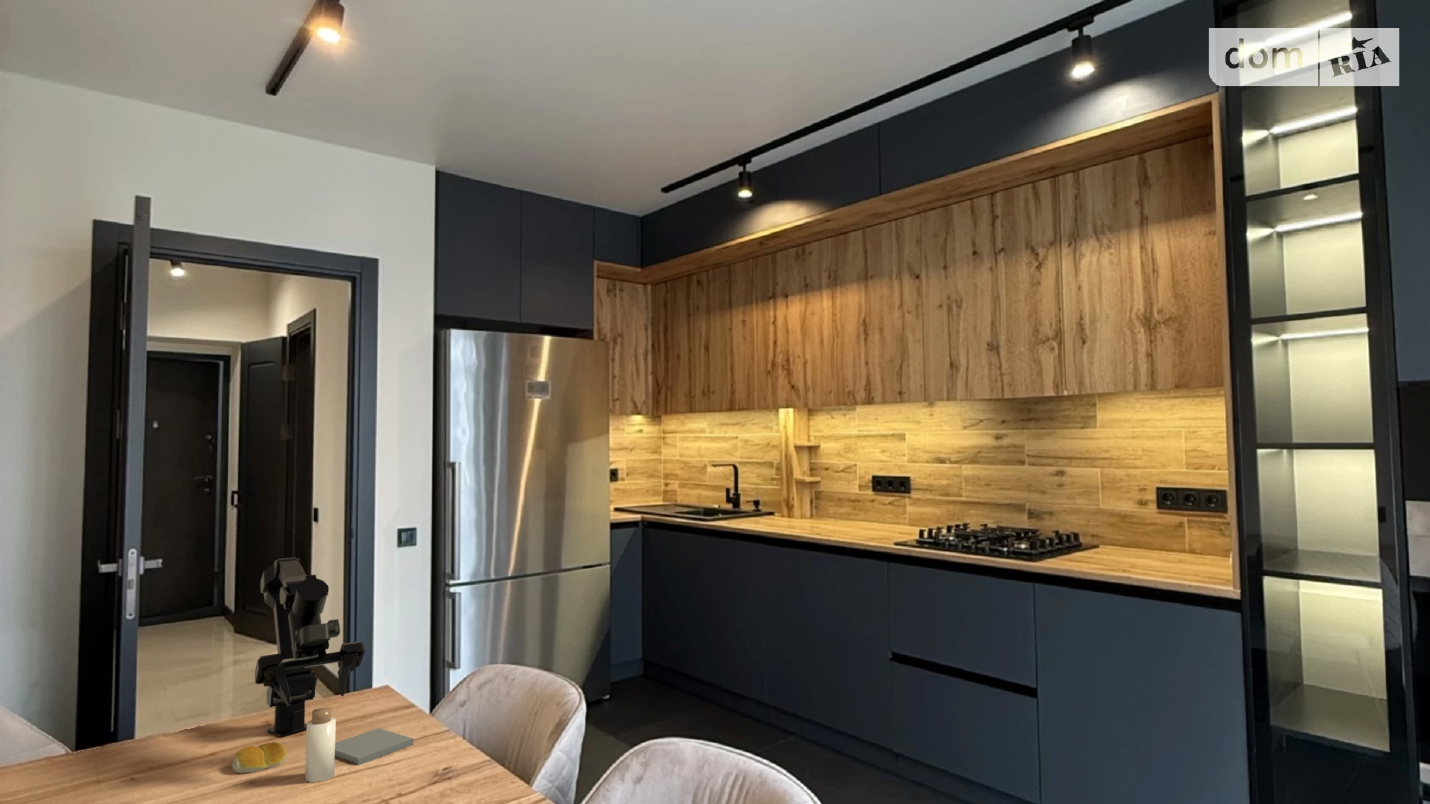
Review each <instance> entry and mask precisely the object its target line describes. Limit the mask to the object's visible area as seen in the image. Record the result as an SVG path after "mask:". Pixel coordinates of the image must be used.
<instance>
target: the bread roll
mask: <svg viewBox="0 0 1430 804" xmlns="http://www.w3.org/2000/svg"><path fill="white" fill-rule="evenodd" d="M287 753H288V752H287V749H286V747H285V746H284V745H283V744H282V743H279V742H278V741H276V742H275V741H274V742H268V743H263V744H260V745H258V746H254V745H250V746H245V747H242V748H240V749H239V750H238V751H237V752H236V753H235V754H234V757H233V759H232V764H231V769H232V771H233V772H235V773H237V774H248V773H250V772H252V773H256V772H255V771H257V772H260V771H263V770H265V769H267V768H268V769H270V768H269V767H272V768H275V767H278V766H280V765H281V764H282V763H283V762H284V760H286V758H287ZM280 763H281V764H280ZM277 765H278V766H277ZM259 770H260V771H259Z"/></svg>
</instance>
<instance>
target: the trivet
mask: <svg viewBox="0 0 1430 804" xmlns="http://www.w3.org/2000/svg"><path fill="white" fill-rule="evenodd" d="M413 745H414V738H413V737H409V736H406V735H403V734H399V733H397V732H393V731H391V730H387V729H383V728H381V727H377V728H375V729H371V730H369V731H365V732H362V733H360V734H358V735H354V736H351V737H348V738H345V739H342V740H338V741H335V756H338V757H340V758H339V759H341V758H343V759H342V760H344V759H345V760H344V761H347V760H349V761H350V763H352V762H353V763H352V764H355V763H357V764H356V765H358V766H359V765H362V764H365V763H368V762H370V761H373V760H376V759H378V758H381V757H383V756H386V755H389V754H392V753H394V752H397V751H399V750H403V749H405V747H406V748H408V747H410V746H413ZM407 746H408V747H407ZM380 756H381V757H380ZM338 757H337V758H338ZM375 758H376V759H375ZM369 760H370V761H369ZM349 761H348V762H349ZM367 761H368V762H367ZM361 763H362V764H361Z"/></svg>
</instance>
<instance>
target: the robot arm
mask: <svg viewBox="0 0 1430 804" xmlns="http://www.w3.org/2000/svg"><path fill="white" fill-rule="evenodd" d="M329 589H330V588H329V585H328V584H327V583H326V581H324V580H322V579H319V578H317V575H316V574H309V575H308V574H306V572H305V571H304V567H303V566H302V564H301V559H300V558H297V557H286V558H278V559H276V560H275V561H274V563H273V565H271V566H270V567H268V568H267V569H265V570H264V571H263V572H262V575H261V578H260V593H261V594H263V598H264V603H265V604H266V605H267V606H268V607H270V608H271V610H273V617H274V619H273V620H274V628H275V629H274V630H275V639H276V640H275V641H276V649H277V653H274V654H265V655H261V656H259V657H258V659H257V661H256V665H255V669H254V682H255V684H256V685H262V684H263V686H264V687H267V689H266V704H267V705H268V707H269V708H274V723H273V724H274V726H273V727H270V728H267V729H266V732H268V733H269V734H273V735H275V736H278V737H286V736H290V735H293V734H296V733H298V732H302V731H305V730H306V731H307V723H306V719H305V718H306V717H305V716H306V701H312V700H314V698H315V697H316V689H317V683H318V677H317V676H316V673H315V671H314V670H312V667H316V666H317V667H318V666H324V665H331V664H335V663H337V666H338V671H337V676H338V677H337V679H338V687H339V688H338V689H339V693H340V696H341V697H344V695H345V692H346V685H347V682H348V676H349V673H352V672H354V671H355V669H356V668H359V667H360V666H361V665H362V661H363V659H364V656H365V652H366V650H365V645H364V643H362V642H361V641H353V642H346V643H341V646H340V649H339V651H336V652H328V653H327V650H329V648H330V641H331V638H337V637H339V635H340V634H341V625H340V620H339V619H338V618H337V619H329V620H328V621H327V622H325V623H322V618H321V615H322V613H323V612H324V609H325V605H326V602H327V597H328V596H329Z"/></svg>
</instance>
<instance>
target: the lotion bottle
mask: <svg viewBox="0 0 1430 804" xmlns="http://www.w3.org/2000/svg"><path fill="white" fill-rule="evenodd" d="M306 724H307V729H306V734H305V735H306V736H305V737H306V738H305V739H306V741H305V743H306V744H305V768H304V769H305V770H304V773H305V774H304V781H305V780H306V781H305V782H307V781H309V782H308V783H319V782H318V781H321V782H324V781H323V780H325V781H328V780H330V779H332V778H333V777H334V776H335V766H336V765H335V763H336V762H335V761H336V757H335V742H336V730H337V729H336V726H337V725H336V724H337V719H336V718H335V717H332V708H331V707H321V708H320V707H319V708H316V709H313V710H312V711H311V720H309V721H307V723H306ZM331 777H332V778H331ZM327 779H328V780H327Z"/></svg>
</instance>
